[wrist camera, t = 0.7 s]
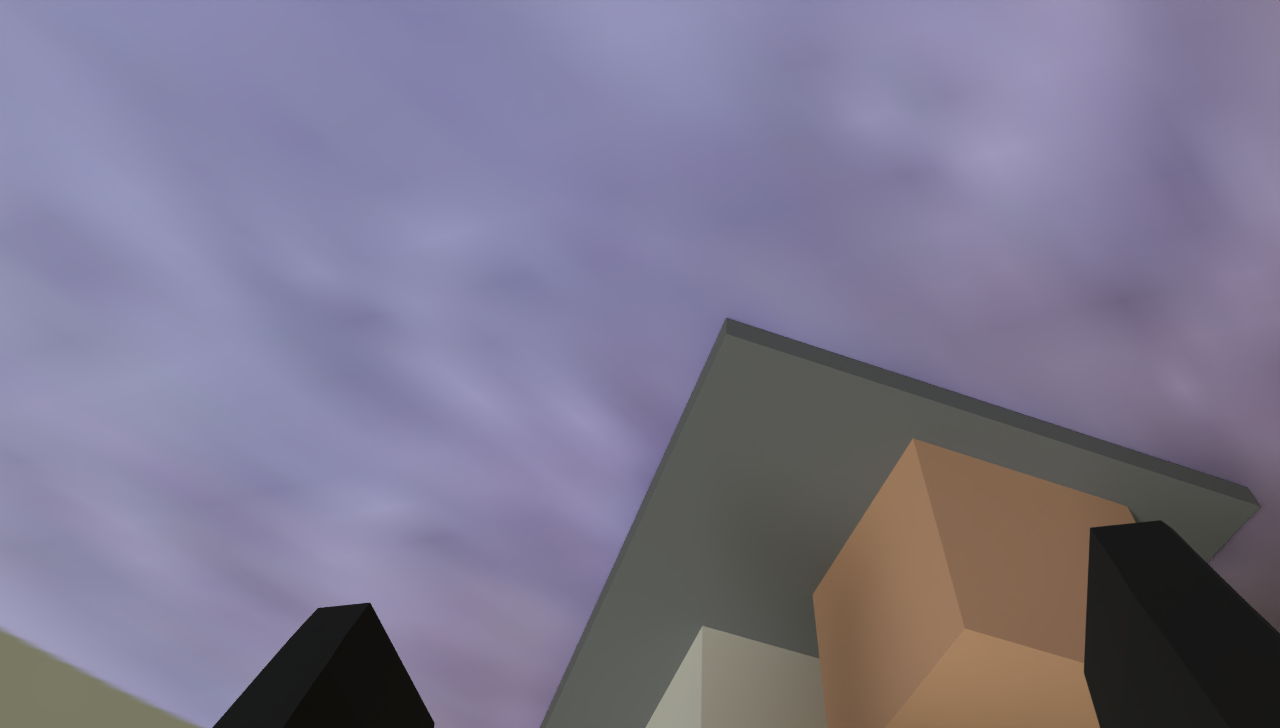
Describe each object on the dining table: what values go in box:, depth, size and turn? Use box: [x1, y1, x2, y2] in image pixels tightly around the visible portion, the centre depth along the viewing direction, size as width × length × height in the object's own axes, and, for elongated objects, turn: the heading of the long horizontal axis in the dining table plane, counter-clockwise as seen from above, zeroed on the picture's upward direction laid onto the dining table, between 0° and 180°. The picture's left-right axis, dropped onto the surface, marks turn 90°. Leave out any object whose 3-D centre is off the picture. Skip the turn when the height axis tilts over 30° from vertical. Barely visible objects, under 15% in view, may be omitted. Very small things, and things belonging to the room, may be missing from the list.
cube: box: [813, 439, 1136, 728], centre depth 19 cm, size 5×5×5 cm
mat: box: [540, 318, 1261, 728], centre depth 25 cm, size 12×18×1 cm, turn 162°
